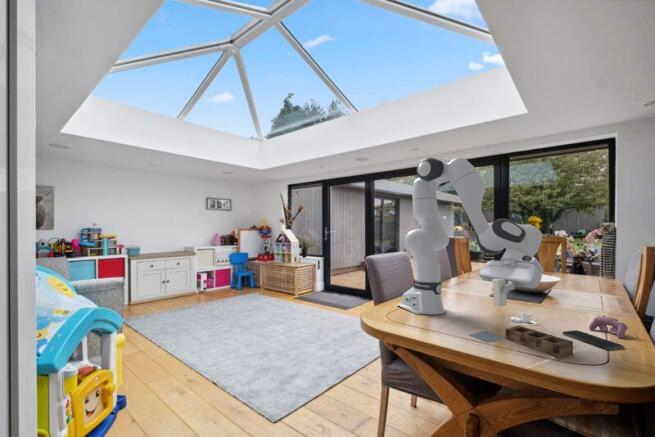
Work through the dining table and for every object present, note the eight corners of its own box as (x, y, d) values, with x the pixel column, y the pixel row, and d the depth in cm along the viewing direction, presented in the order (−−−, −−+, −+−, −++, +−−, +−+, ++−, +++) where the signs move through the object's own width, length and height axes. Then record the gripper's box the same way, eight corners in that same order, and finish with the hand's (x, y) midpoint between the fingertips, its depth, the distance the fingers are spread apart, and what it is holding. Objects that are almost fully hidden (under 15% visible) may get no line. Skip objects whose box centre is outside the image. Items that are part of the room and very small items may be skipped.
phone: (607, 348, 95) (560, 331, 110) (607, 351, 95) (560, 334, 110) (625, 346, 97) (577, 330, 111) (625, 349, 97) (577, 333, 111)
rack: (505, 340, 104) (505, 328, 104) (519, 336, 107) (518, 325, 107) (559, 359, 89) (559, 345, 89) (573, 354, 92) (572, 341, 93)
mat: (467, 336, 108) (467, 334, 108) (486, 331, 112) (485, 330, 112) (487, 343, 101) (487, 342, 101) (506, 338, 105) (506, 337, 105)
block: (493, 305, 104) (492, 279, 105) (501, 303, 106) (500, 278, 106) (499, 306, 102) (498, 280, 103) (506, 305, 104) (505, 279, 104)
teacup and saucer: (509, 322, 124) (508, 312, 124) (515, 318, 129) (515, 309, 129) (533, 327, 117) (533, 317, 118) (539, 323, 123) (539, 313, 123)
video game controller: (626, 342, 106) (630, 323, 107) (620, 337, 104) (624, 318, 106) (593, 332, 115) (597, 315, 116) (586, 328, 113) (591, 311, 115)
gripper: (485, 254, 117) (468, 281, 113) (540, 258, 99) (523, 291, 94) (492, 264, 119) (477, 292, 114) (549, 270, 100) (533, 303, 96)
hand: (498, 291), depth 104 cm, fingers closed on block, 2 cm apart
